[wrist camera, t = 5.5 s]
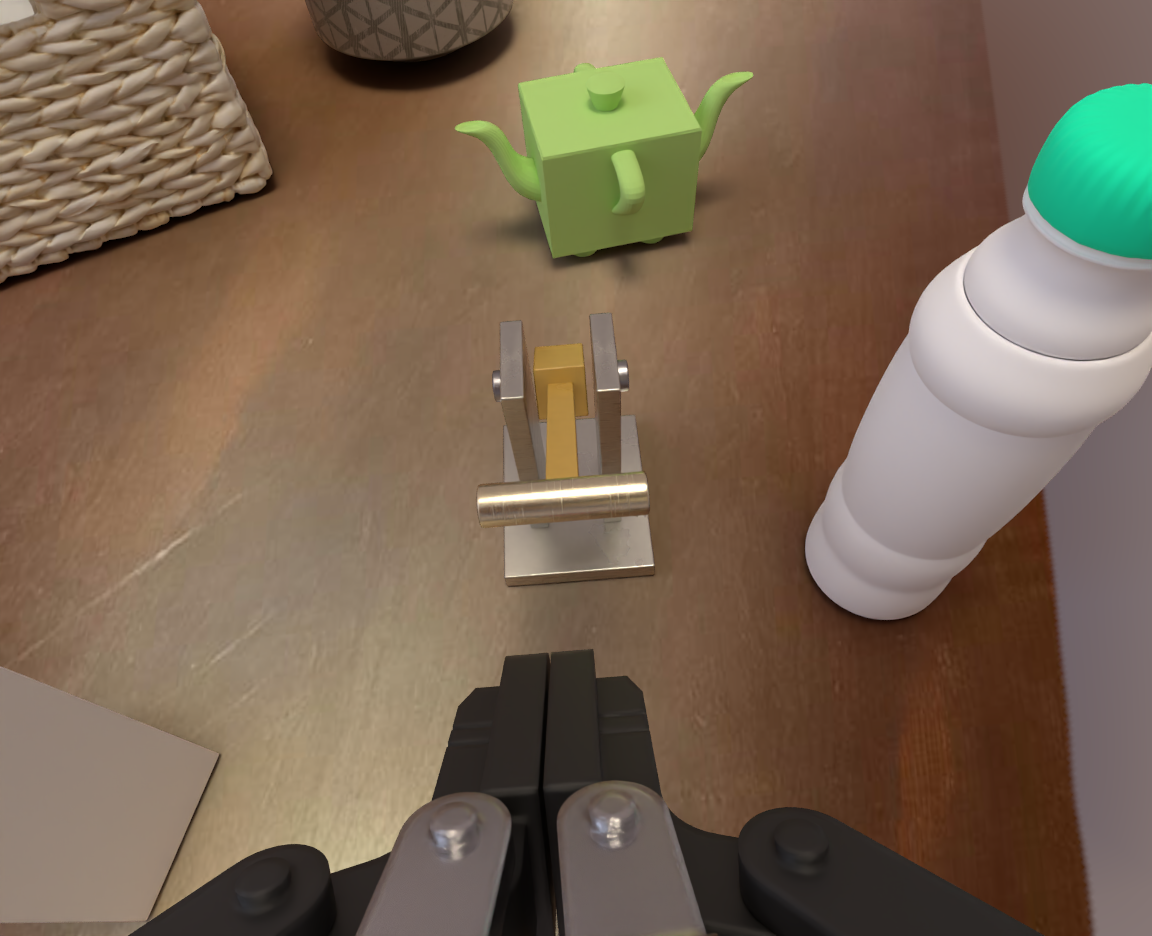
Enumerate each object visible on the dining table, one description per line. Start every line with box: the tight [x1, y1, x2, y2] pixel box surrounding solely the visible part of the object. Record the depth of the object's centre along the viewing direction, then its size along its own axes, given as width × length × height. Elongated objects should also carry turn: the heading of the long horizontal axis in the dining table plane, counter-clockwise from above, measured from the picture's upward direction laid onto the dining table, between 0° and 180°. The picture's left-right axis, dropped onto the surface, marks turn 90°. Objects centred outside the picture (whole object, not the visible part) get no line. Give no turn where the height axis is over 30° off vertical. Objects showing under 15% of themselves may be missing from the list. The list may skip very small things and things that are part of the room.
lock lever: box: [476, 343, 650, 528], centre depth 28 cm, size 12×6×2 cm, turn 4°
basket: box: [0, 0, 272, 283], centre depth 53 cm, size 27×27×22 cm
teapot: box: [455, 57, 753, 258], centre depth 50 cm, size 15×13×11 cm
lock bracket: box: [492, 313, 655, 586], centre depth 36 cm, size 10×8×13 cm
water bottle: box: [805, 83, 1152, 620], centre depth 28 cm, size 7×7×25 cm
